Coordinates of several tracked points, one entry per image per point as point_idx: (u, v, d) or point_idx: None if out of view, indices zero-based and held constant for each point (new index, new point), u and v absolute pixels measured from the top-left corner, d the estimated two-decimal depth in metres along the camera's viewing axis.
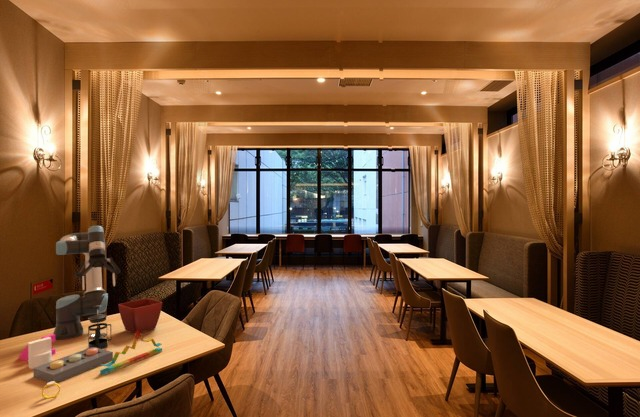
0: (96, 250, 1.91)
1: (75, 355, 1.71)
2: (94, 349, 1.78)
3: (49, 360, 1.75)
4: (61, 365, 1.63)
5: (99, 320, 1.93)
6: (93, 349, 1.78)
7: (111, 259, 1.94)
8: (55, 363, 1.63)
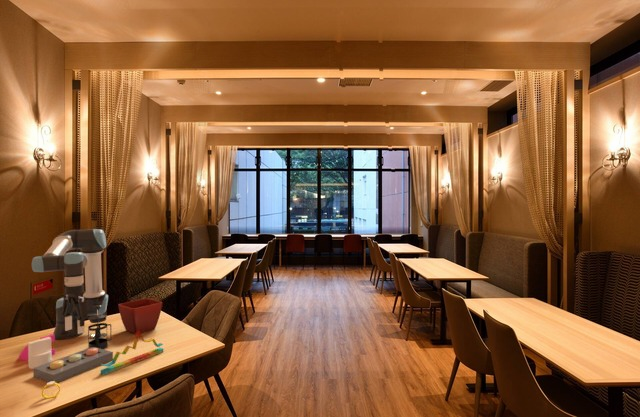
0: (65, 289, 1.68)
1: (75, 355, 1.71)
2: (94, 349, 1.78)
3: (49, 360, 1.75)
4: (61, 365, 1.63)
5: (99, 320, 1.93)
6: (93, 349, 1.78)
7: (79, 301, 1.67)
8: (55, 363, 1.63)
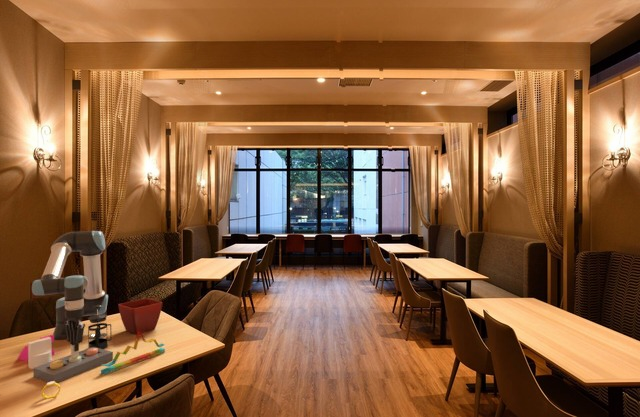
0: (65, 313, 1.67)
1: None
2: (94, 349, 1.78)
3: (49, 360, 1.75)
4: (61, 365, 1.63)
5: (99, 320, 1.93)
6: (93, 349, 1.78)
7: (78, 327, 1.67)
8: (55, 363, 1.63)
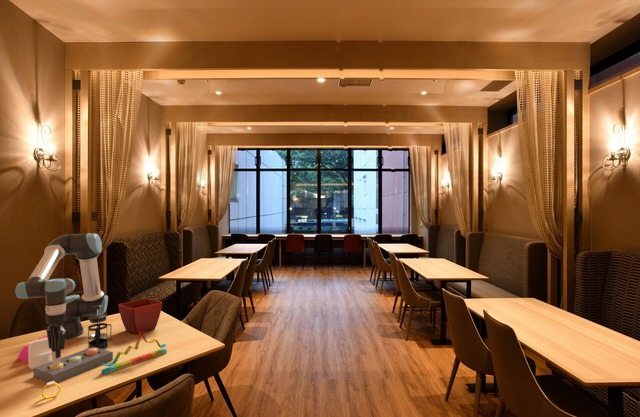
0: (46, 318, 1.60)
1: (75, 357, 1.71)
2: (94, 349, 1.78)
3: (49, 360, 1.75)
4: None
5: (99, 320, 1.93)
6: (93, 349, 1.78)
7: (59, 333, 1.60)
8: (55, 365, 1.63)
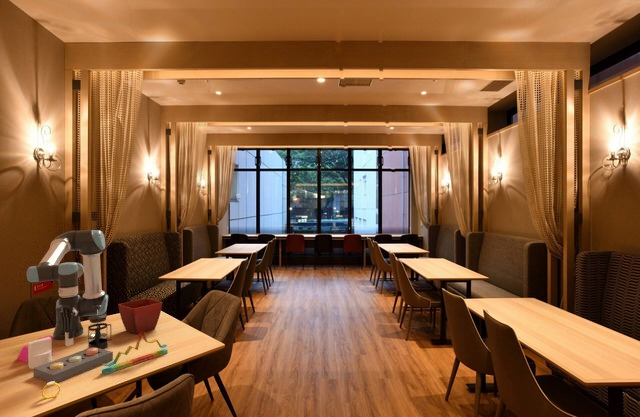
0: (59, 300, 1.65)
1: (75, 357, 1.71)
2: (94, 349, 1.78)
3: (49, 360, 1.75)
4: None
5: (99, 320, 1.93)
6: (93, 349, 1.78)
7: (72, 315, 1.65)
8: (55, 365, 1.63)
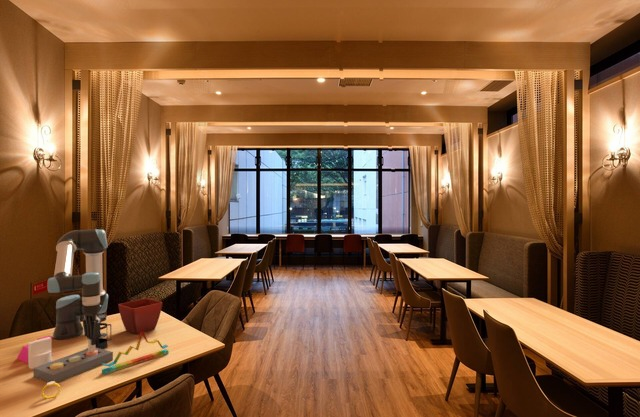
0: (83, 308, 1.75)
1: (75, 357, 1.71)
2: (94, 351, 1.78)
3: (49, 360, 1.75)
4: None
5: None
6: (93, 351, 1.78)
7: (95, 322, 1.75)
8: (55, 365, 1.63)
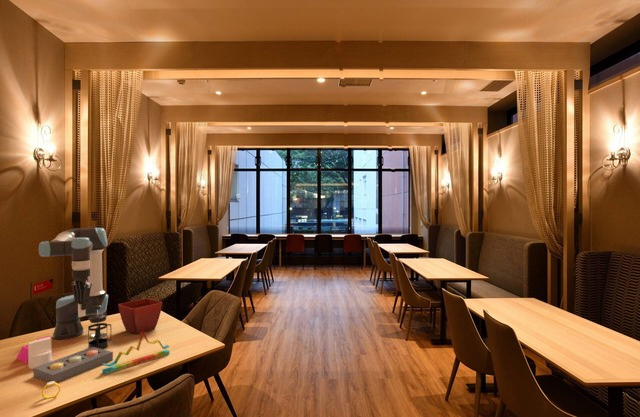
0: (72, 273, 1.73)
1: (75, 357, 1.71)
2: (94, 351, 1.78)
3: (49, 360, 1.75)
4: None
5: (99, 320, 1.93)
6: (93, 351, 1.78)
7: (85, 287, 1.73)
8: (55, 365, 1.63)
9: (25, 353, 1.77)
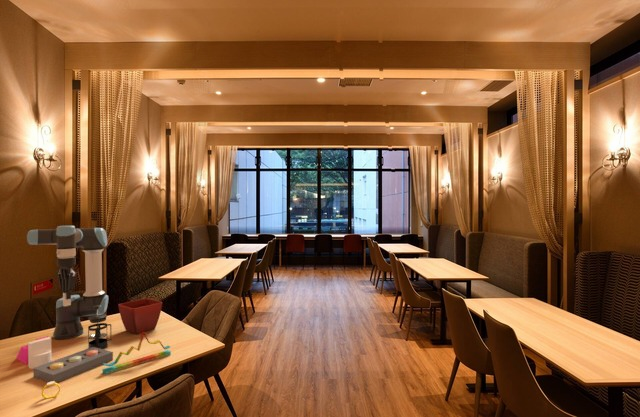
0: (57, 261, 1.70)
1: (75, 357, 1.71)
2: (94, 351, 1.78)
3: (49, 360, 1.75)
4: None
5: (99, 320, 1.93)
6: (93, 351, 1.78)
7: (70, 275, 1.70)
8: (55, 365, 1.63)
9: (24, 353, 1.77)
